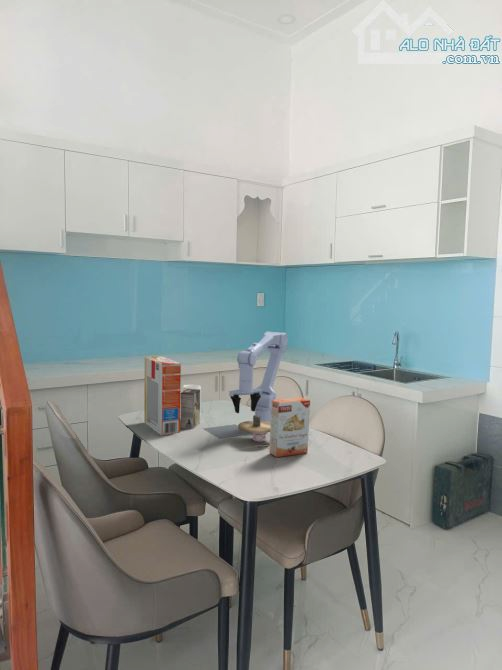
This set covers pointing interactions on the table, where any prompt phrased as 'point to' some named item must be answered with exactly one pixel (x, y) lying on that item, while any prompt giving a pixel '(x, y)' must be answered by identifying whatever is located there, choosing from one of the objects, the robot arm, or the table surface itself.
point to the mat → (226, 431)
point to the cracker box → (289, 426)
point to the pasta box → (162, 395)
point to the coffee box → (190, 408)
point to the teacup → (260, 438)
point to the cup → (196, 387)
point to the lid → (255, 425)
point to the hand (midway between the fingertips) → (245, 411)
